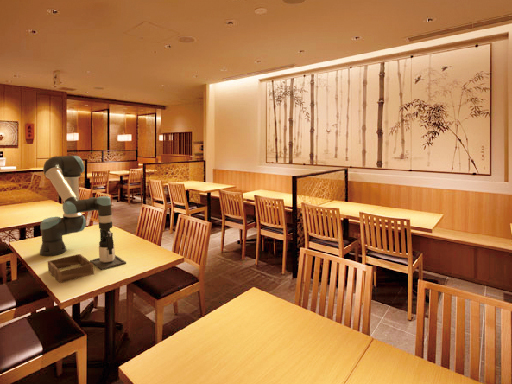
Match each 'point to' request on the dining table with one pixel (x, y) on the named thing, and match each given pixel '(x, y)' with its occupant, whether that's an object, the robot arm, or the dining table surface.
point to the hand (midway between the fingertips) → (107, 257)
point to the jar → (105, 252)
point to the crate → (72, 273)
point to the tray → (107, 263)
